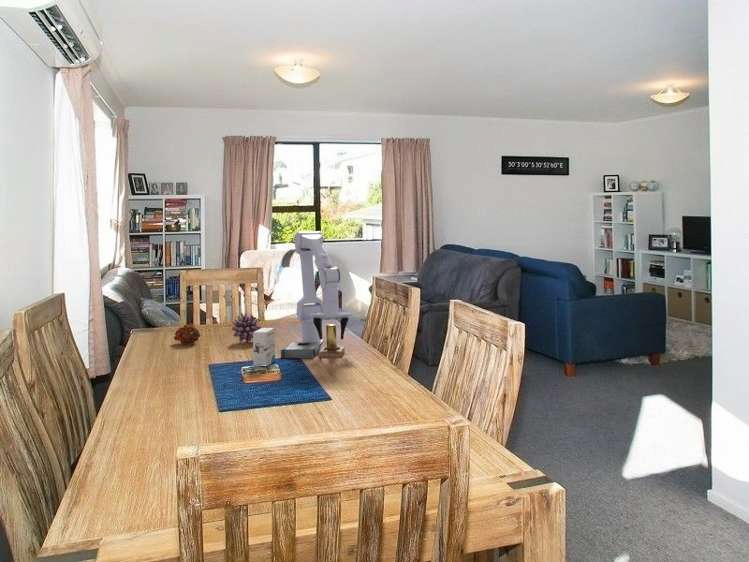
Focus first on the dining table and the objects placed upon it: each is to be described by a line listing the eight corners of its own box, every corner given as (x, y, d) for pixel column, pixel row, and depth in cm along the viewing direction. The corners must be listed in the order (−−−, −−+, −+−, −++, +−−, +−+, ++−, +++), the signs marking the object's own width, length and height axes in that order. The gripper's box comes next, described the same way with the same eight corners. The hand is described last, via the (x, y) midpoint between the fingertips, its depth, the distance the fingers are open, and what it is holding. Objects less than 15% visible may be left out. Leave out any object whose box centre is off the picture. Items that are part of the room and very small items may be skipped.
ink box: (262, 360, 216) (261, 327, 215) (276, 361, 215) (275, 327, 214) (253, 366, 208) (251, 332, 207) (267, 367, 207) (266, 332, 206)
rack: (322, 352, 228) (322, 346, 228) (344, 352, 228) (344, 346, 227) (319, 357, 220) (319, 351, 220) (341, 356, 220) (341, 351, 219)
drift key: (282, 355, 224) (282, 347, 224) (307, 355, 223) (307, 347, 223) (280, 357, 221) (280, 349, 221) (306, 357, 220) (305, 349, 220)
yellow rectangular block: (327, 350, 226) (326, 324, 225) (337, 350, 226) (336, 324, 225) (326, 352, 222) (325, 326, 221) (336, 352, 222) (335, 325, 221)
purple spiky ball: (247, 338, 259) (246, 310, 258) (267, 341, 252) (266, 312, 251) (225, 343, 249) (224, 314, 248) (246, 346, 242) (245, 316, 241)
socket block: (292, 350, 233) (292, 342, 233) (319, 349, 232) (318, 342, 232) (285, 357, 220) (284, 349, 220) (313, 357, 219) (312, 349, 219)
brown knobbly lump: (198, 349, 247) (177, 351, 253) (209, 333, 252) (188, 336, 258) (185, 334, 242) (165, 336, 248) (197, 319, 248) (176, 321, 254)
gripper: (308, 303, 219) (309, 341, 220) (349, 302, 218) (350, 340, 219) (311, 300, 226) (313, 337, 227) (351, 299, 225) (352, 337, 226)
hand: (331, 338), depth 223 cm, fingers open, 7 cm apart
